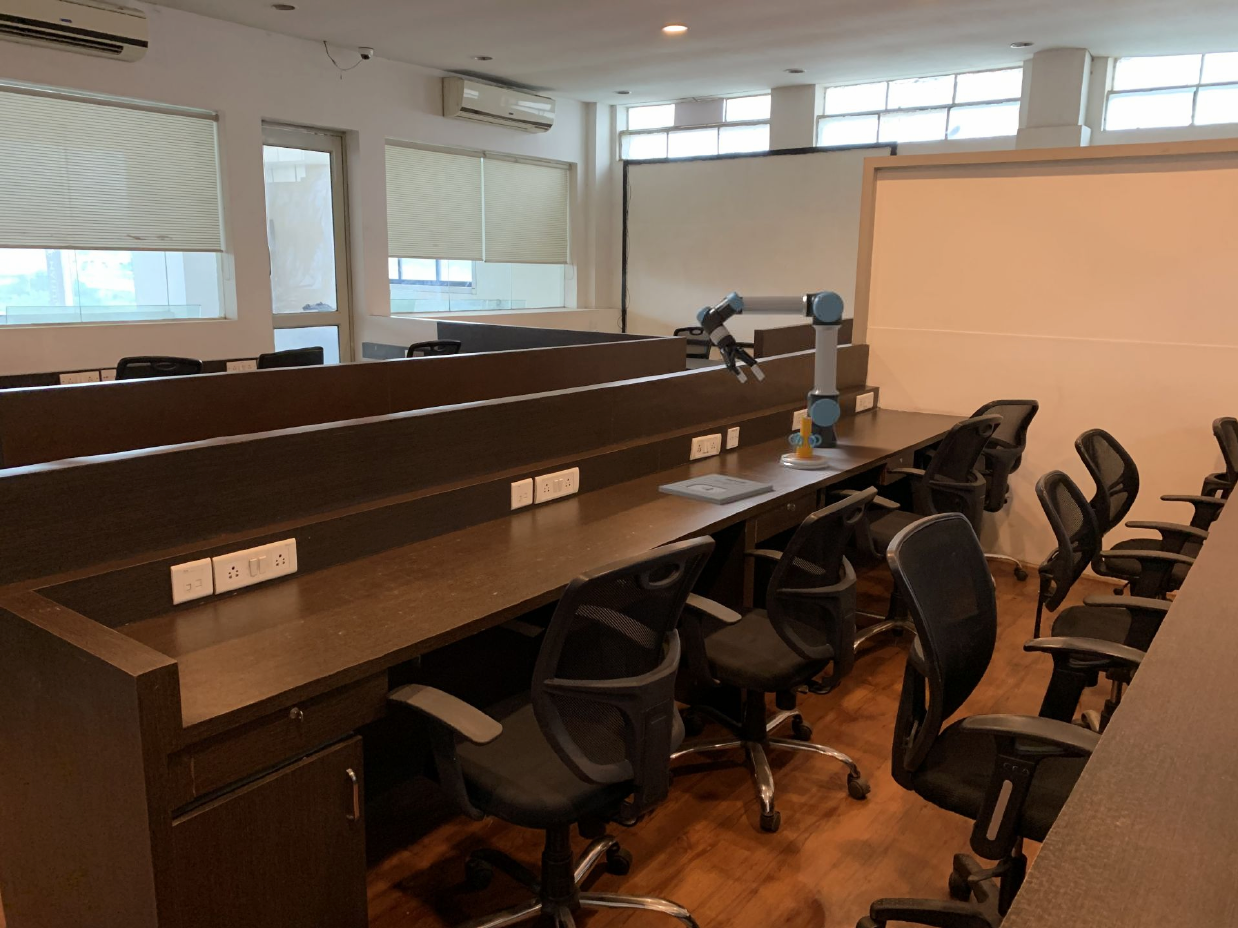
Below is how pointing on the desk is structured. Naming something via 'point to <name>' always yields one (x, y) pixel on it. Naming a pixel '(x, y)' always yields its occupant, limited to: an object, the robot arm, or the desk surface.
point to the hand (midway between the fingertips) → (753, 379)
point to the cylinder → (805, 439)
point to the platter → (804, 460)
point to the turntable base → (803, 466)
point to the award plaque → (715, 488)
